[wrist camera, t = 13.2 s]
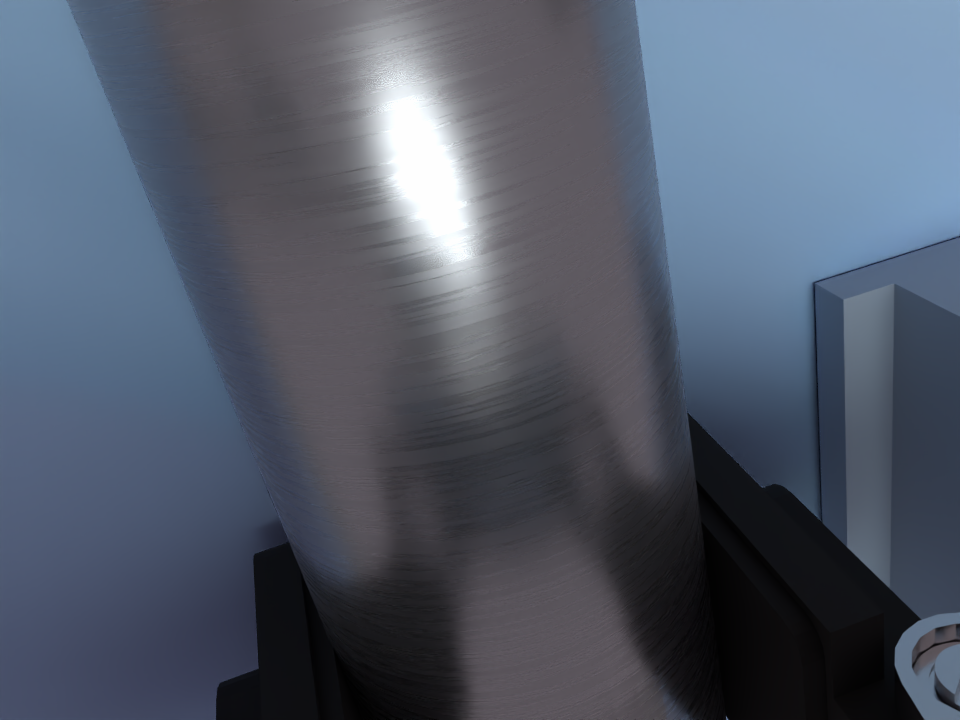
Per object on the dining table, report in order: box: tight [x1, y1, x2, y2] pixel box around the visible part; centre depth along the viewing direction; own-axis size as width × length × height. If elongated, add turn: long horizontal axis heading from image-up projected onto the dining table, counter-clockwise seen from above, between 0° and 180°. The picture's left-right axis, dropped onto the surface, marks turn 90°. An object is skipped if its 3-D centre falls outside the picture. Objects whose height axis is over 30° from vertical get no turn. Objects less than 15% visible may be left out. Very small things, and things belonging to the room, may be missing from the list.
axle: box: [67, 0, 726, 720], centre depth 8 cm, size 20×4×4 cm, turn 13°
